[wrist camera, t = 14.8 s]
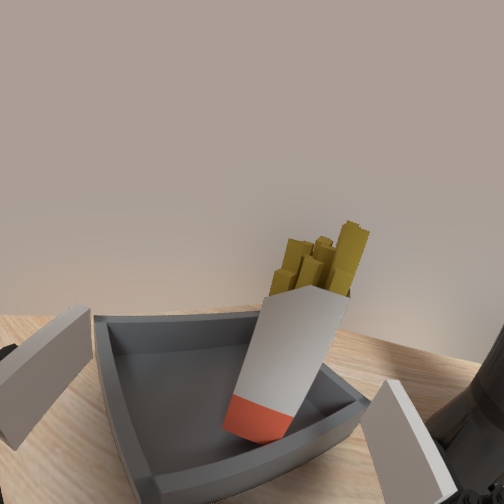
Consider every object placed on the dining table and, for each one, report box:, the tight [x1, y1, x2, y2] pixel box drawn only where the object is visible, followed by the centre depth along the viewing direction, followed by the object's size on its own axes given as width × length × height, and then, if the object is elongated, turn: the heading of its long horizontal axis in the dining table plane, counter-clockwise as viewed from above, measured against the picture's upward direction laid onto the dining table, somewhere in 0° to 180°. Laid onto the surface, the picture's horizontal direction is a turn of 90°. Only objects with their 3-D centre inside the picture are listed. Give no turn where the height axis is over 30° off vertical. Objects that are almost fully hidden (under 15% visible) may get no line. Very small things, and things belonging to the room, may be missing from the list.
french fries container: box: [222, 221, 370, 446], centre depth 19 cm, size 5×11×18 cm, turn 161°
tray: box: [94, 311, 371, 504], centre depth 22 cm, size 20×18×5 cm
